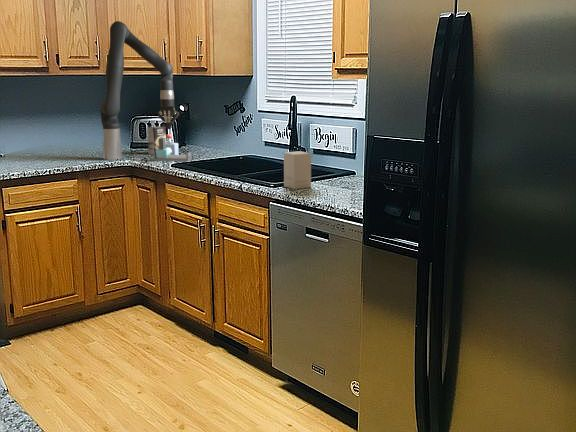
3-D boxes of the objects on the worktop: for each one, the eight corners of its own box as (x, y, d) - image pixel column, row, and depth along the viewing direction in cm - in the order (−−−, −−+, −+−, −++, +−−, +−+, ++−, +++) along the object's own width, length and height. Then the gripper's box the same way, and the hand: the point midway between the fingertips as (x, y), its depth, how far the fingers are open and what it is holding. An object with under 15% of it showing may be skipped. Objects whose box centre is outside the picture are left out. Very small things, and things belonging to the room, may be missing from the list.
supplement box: (311, 187, 275) (312, 153, 272) (294, 189, 271) (294, 154, 267) (300, 184, 283) (300, 150, 279) (283, 186, 279) (283, 152, 275)
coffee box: (155, 155, 374) (154, 127, 370) (148, 154, 378) (146, 127, 374) (167, 153, 381) (165, 126, 378) (159, 152, 385) (158, 126, 381)
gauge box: (161, 158, 362) (160, 144, 360) (165, 156, 369) (164, 142, 368) (174, 158, 361) (174, 144, 359) (178, 156, 368) (178, 142, 366)
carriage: (156, 157, 353) (155, 138, 350) (159, 156, 357) (158, 137, 355) (166, 157, 352) (165, 138, 349) (169, 156, 357) (168, 137, 354)
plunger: (165, 144, 362) (165, 134, 361) (167, 144, 366) (167, 134, 364) (171, 144, 362) (170, 134, 361) (173, 144, 365) (172, 134, 364)
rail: (153, 160, 353) (153, 152, 352) (157, 159, 358) (156, 151, 357) (188, 161, 350) (187, 153, 349) (191, 159, 356) (191, 151, 355)
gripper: (180, 97, 360) (182, 128, 365) (158, 97, 362) (159, 128, 366) (176, 98, 353) (178, 129, 357) (153, 98, 355) (155, 129, 359)
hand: (168, 129), depth 362 cm, fingers closed
